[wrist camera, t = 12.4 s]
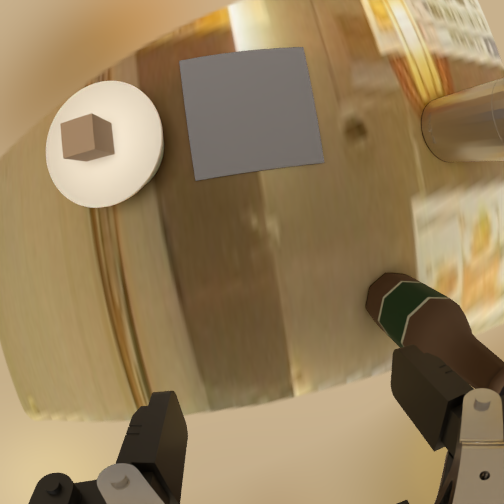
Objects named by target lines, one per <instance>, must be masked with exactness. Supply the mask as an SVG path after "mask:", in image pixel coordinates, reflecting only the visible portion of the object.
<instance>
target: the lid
mask: <svg viewBox="0 0 504 504" xmlns="http://www.w3.org/2000/svg"><path fill="white" fill-rule="evenodd" d="M162 146H163V128H162V123H161V119H160V116H159V113H158V111H157V109H156V107H155V106H154V104H153V103H152V102H151V100H150V99H149V98H148V97H147V96H146V95H145V94H144V93H143V92H142V91H140V90H139V89H138V88H136V87H134V86H132V85H130V84H127V83H124V82H119V81H103V82H98V83H94V84H92V85H89V86H87V87H85V88H83V89H81V90H80V91H78V92H77V93H75V94H74V95H73V96H72V97H70V98H69V99H68V100H67V101H66V102H65V104H64V105H63V106H62V107H61V109H60V110H59V111H58V113H57V114H56V116H55V118H54V120H53V122H52V124H51V127H50V130H49V133H48V137H47V143H46V161H47V167H48V170H49V174H50V176H51V178H52V181H53V182H54V184H55V186H56V187H57V188H58V190H59V191H60V192H61V193H62V194H63V195H64V196H65V197H66V198H68V199H69V200H71V201H72V202H74V203H76V204H79V205H82V206H85V207H92V208H100V207H107V206H112V205H115V204H118V203H121V202H123V201H125V200H127V199H129V198H130V197H132V196H133V195H134V194H136V193H137V192H138V191H139V190H140V189H141V188H142V187H143V186H144V185H145V184H146V183H147V181H148V180H149V179H150V177H151V176H152V174H153V172H154V171H155V169H156V167H157V164H158V162H159V159H160V156H161V151H162Z"/></svg>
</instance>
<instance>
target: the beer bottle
mask: <svg viewBox="0 0 504 504" xmlns="http://www.w3.org/2000/svg"><path fill="white" fill-rule="evenodd" d="M366 309H367V311H368V312H369V313H370V315H371V316H372V318H373V319H374V321H375V322H376V323H377V324H378V326H379V327H380V328H381V329H382V330H383V331H384V332H385V333H386V334H387V335H388V336H389V337H390V338H391V339H392V340H393V341H394V342H395V343H396V344H397V345H398V346H399V347H400V348H402V347H405V346H408V345H411V344H414V345H415V346H416V347H418V348H419V349H420V350H421V351H422V352H423V353H430V354H432V355H434V356H437V357H439V358H440V359H441V360H442V361H443V362H445V363H446V365H447V366H449V367H450V368H451V369H452V370H453V371H455V372H456V373H457V374H458V375H459V376H460V377H461V378H462V379H464V380H465V381H466V382H467V383H468V384H469V385H471V386H472V387H474V388H475V389H478V388H486V389H490V390H493V391H495V392H496V393H497V394H498V395H499V396H502V395H504V362H503V361H502V360H501V359H500V358H499V357H497V356H496V355H495V354H494V353H493V352H492V351H490V350H489V349H488V348H487V347H486V346H484V345H483V344H482V343H481V342H480V341H478V340H477V339H476V338H475V336H474V335H473V334H472V331H471V328H470V326H469V323H468V321H467V319H466V316H465V314H464V313H463V311H462V309H461V308H460V306H459V305H458V304H457V303H455V302H454V301H453V300H451V299H450V298H448V297H446V296H445V295H443V294H441V293H439V292H437V291H436V290H434V289H432V288H430V287H428V286H427V285H425V284H423V283H421V282H419V281H418V280H416V279H414V278H412V277H410V276H408V275H405V274H395V273H385V274H384V275H383V276H382V277H381V278H380V279H378V280H377V281H376V282H375V283H374V284H373V285H372V286H370V289H369V294H368V299H367V304H366Z"/></svg>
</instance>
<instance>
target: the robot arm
mask: <svg viewBox="0 0 504 504" xmlns="http://www.w3.org/2000/svg"><path fill="white" fill-rule="evenodd" d="M422 132H423V136H424V139H425V141H426V143H427V145H428V147H429V148H430V150H431V151H432V152H433V154H434V155H435V156H437V157H438V158H439V159H441V160H443V161H446V162H476V161H504V78H502V79H499V80H495V81H492V82H488V83H485V84H482V85H478V86H475V87H472V88H469V89H466V90H463V91H460V92H456V93H453V94H450V95H447V96H444V97H441V98H438V99H435V100H433V101H431V102H430V103H429V104H428V105H427V106H426V107H425V109H424V111H423V115H422ZM391 389H392V393H393V396H394V397H395V399H396V400H397V401H398V403H399V404H400V406H401V407H402V408H403V410H404V411H405V412H406V414H407V415H408V416H409V418H410V419H411V420H412V421H413V423H414V424H415V426H416V427H417V428H418V430H419V431H420V433H421V434H422V435H423V437H424V438H425V439H426V441H427V442H428V444H429V445H430V446H431V448H432V449H433V450H434V451H436V450H438V449H441V448H443V447H446V448H447V449H448V451H447V454H446V459H445V464H444V469H443V473H442V478H441V483H440V487H439V491H438V495H437V498H436V501H435V503H434V504H504V395H502V396H499V395H498V394H497V393H496V392H495V391H493V390H490V389H486V388H478V389H473V388H472V387H471V386H470V385H469V384H468V383H467V382H466V381H465V380H464V379H462V378H461V377H460V376H459V375H458V374H457V373H456V372H455V371H453V370H452V369H451V368H450V367H449V366H447V365H446V363H445V362H443V361H442V360H441V359H440V358H439V357H437V356H434V355H432V354H430V353H423V352H422V351H421V350H420V349H419V348H418V347H416V346H415V345H414V344H411V345H408V346H405V347H402V348H398V349H395V350H394V352H393V360H392V375H391ZM129 426H130V427H128V430H127V433H126V434H127V435H126V436H125V439H124V441H123V444H122V447H121V450H120V453H119V456H118V459H117V461H116V464H114V465H111V466H108V467H107V468H105V469H104V470H103V471H102V472H101V473H100V474H99V476H98V478H97V480H93V481H86V482H79V483H73V481H72V480H71V479H70V477H69V476H67V475H65V474H63V473H52V474H48V475H46V476H44V477H43V478H42V479H41V480H40V481H39V482H38V484H37V486H36V487H35V490H34V492H33V494H32V497H31V499H30V502H29V504H180V498H181V488H182V480H183V472H184V463H185V455H186V447H187V439H188V433H187V425H186V422H185V419H184V416H183V413H182V411H181V408H180V405H179V402H178V399H177V396H176V394H175V392H174V391H165V392H153V393H152V396H151V399H150V402H149V405H148V406H141V407H140V408H139V409H138V410H137V411H136V412H135V413H134V415H133V416H132V419H131V422H130V424H129ZM397 504H409V503H408V501H407V500H405V501H402V502H400V503H397Z"/></svg>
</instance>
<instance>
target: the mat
mask: <svg viewBox="0 0 504 504" xmlns="http://www.w3.org/2000/svg"><path fill="white" fill-rule="evenodd" d="M179 63H180V71H181V80H182V88H183V96H184V104H185V111H186V119H187V126H188V133H189V140H190V147H191V154H192V161H193V167H194V174H195V180H196V181H198V180H203V179H209V178H215V177H221V176H227V175H234V174H240V173H247V172H254V171H261V170H268V169H276V168H283V167H291V166H300V165H308V164H317V163H324V157H323V151H322V144H321V138H320V132H319V126H318V120H317V114H316V109H315V103H314V98H313V92H312V87H311V82H310V77H309V72H308V67H307V63H306V58H305V53H304V49H303V47H293V48H274V49H261V50H250V51H241V52H232V53H225V54H217V55H211V56H204V57H198V58H193V59H187V60H182V61H179Z"/></svg>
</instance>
